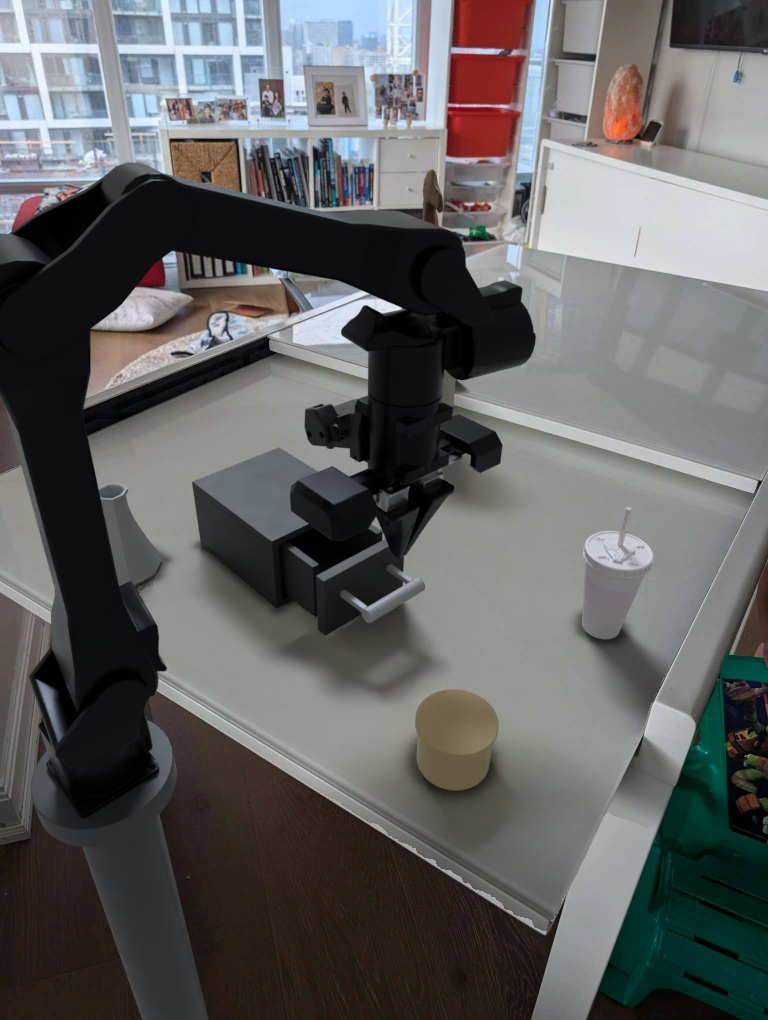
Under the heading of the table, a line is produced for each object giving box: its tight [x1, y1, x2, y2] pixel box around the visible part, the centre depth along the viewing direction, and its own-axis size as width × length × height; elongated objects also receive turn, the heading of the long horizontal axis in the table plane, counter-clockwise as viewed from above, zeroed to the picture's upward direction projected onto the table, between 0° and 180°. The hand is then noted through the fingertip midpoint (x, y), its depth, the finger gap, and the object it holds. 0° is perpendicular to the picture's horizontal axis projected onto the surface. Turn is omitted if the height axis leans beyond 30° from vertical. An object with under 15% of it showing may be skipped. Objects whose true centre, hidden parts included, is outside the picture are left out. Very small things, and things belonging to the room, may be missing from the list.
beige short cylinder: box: [414, 688, 500, 791], centre depth 61 cm, size 7×7×5 cm
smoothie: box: [581, 506, 655, 640], centre depth 72 cm, size 6×6×14 cm
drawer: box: [279, 523, 426, 637], centre depth 77 cm, size 18×10×7 cm, turn 43°
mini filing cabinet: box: [191, 447, 319, 610], centre depth 83 cm, size 15×12×9 cm
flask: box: [98, 482, 163, 587], centre depth 80 cm, size 7×7×10 cm
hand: (398, 554), depth 66 cm, fingers closed
